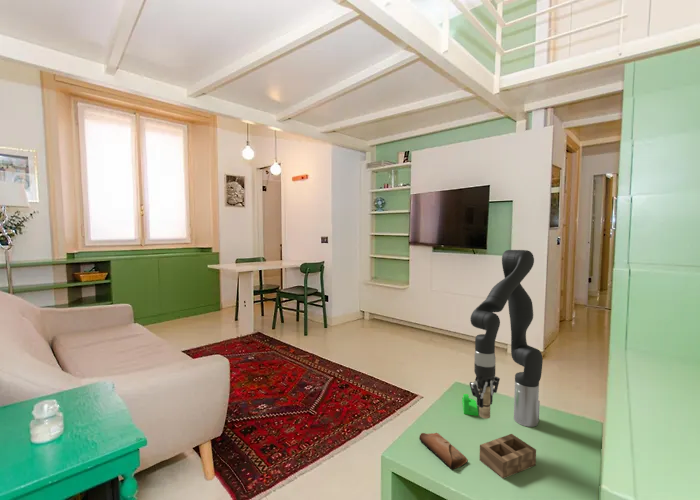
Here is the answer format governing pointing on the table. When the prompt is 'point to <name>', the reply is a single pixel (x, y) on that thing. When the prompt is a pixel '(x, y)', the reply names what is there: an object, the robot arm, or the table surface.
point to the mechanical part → (469, 405)
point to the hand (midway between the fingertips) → (484, 404)
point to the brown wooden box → (507, 455)
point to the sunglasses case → (443, 450)
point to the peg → (485, 404)
